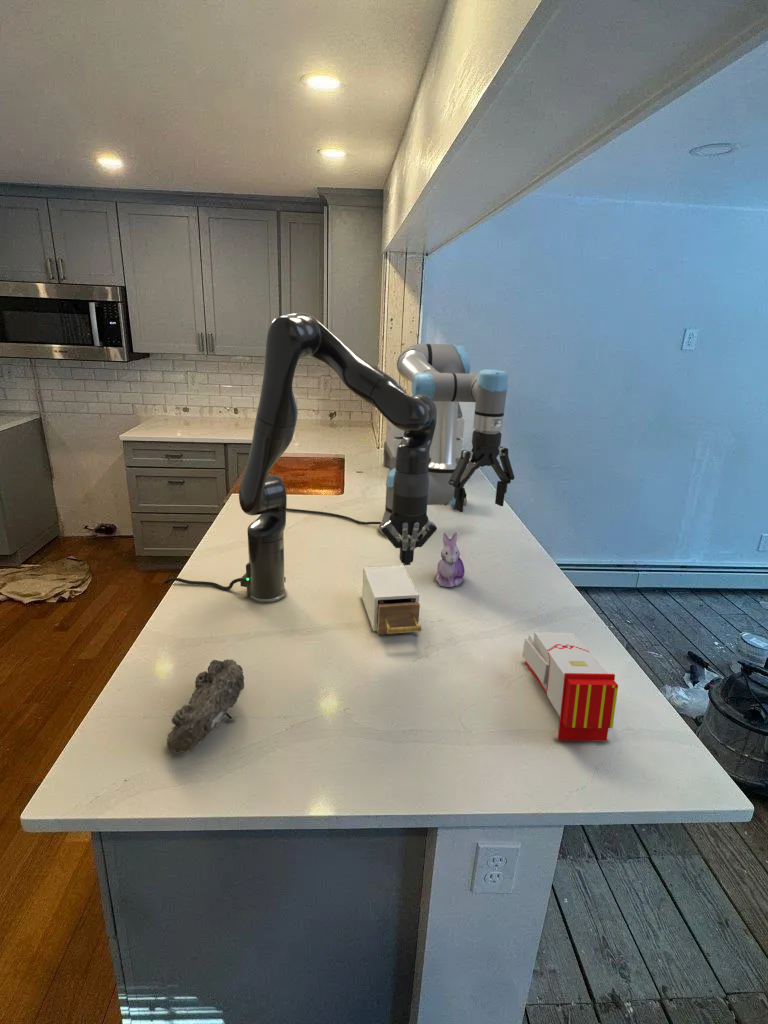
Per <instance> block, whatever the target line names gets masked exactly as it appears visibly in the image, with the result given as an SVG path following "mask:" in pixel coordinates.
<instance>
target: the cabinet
mask: <svg viewBox="0 0 768 1024" xmlns="http://www.w3.org/2000/svg"><path fill="white" fill-rule="evenodd" d="M361 587H362V589H361V591H362V592H361V599H362V603H363V605H364V608H365V611H366V614H367V617H368V619H369V623H370V625H371V628H372V631H373V632H377V628H378V623H377V611H378V600H391V599H408V598H413V599H414V602H419V603H420V594H419V592H418V590H417V588H416V587H415V584H414V583H413V581H412V579H411V577H410V575H409V573H408V571H407V570H406V568H405V565H403V564H402V565H401V564H400V565H399V564H398V565H382V566H381V565H379V566H363V567H362V585H361Z"/></svg>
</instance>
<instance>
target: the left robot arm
mask: <svg viewBox="0 0 768 1024" xmlns="http://www.w3.org/2000/svg"><path fill="white" fill-rule="evenodd" d="M305 357H312V358H314V359H316V360H318V361H321V362H322V363H324V364H325V365H327V366H328V367H330V368H331V369H332V370H333V371H334V372H335V374H337V376H338V378H339V379H340V380H341V382H342V383H343V385H345V387H346V388H347V389H348V390H349V391H351V392H352V393H353V394H354V395H356V396H357V397H358V398H360V399H361V400H363V401H364V402H366V403H367V404H369V405H370V406H371V407H374V408H376V410H378V412H379V413H380V414H381V416H383V417H384V418H385V420H386V419H387V420H388V421H389V422H390V423H391V424H393V425H394V426H395V427H397V428H398V429H400V430H402V431H404V436H403V439H402V441H401V442H400V444H399V445H398V447H397V452H396V470H395V476H394V484H393V505H392V514H391V516H390V520H389V521H388V522H387V523H385V524H381V525H380V524H379V526H380V528H381V530H382V532H383V533H384V534H385V536H386V537H385V538H387V540H388V541H389V542H390V543H391V545H392V546H393V547H394V548H395V549H399V561H400V563H401V564H402V565H403V566H411V565H412V564H411V563H414V555H415V549H417V548H422V547H423V546H424V545H425V544H426V543H427V541H428V540H429V539H430V538H431V537H432V536H433V535H434V533H435V532H436V531H437V530H438V527H437V525H436V524H435V522H433V521H430V519H429V516H428V514H427V513H428V505H427V502H428V489H429V458H430V447H431V443H432V440H433V436H434V431H435V427H436V420H437V410H436V406H435V403H434V402H433V400H432V399H431V398H430V397H428V396H426V395H415V396H412V397H411V395H408V393H407V394H405V393H404V392H403V391H402V390H400V389H399V388H398V385H399V383H398V382H397V381H396V380H395V379H394V378H393V377H391V375H389V374H387V373H386V372H384V371H383V370H381V369H379V368H378V367H377V366H375V365H373V364H372V363H370V362H369V361H367V360H366V359H364V358H363V357H361V356H360V355H358V354H357V353H356V352H354V351H353V350H352V349H351V348H350V347H349V346H347V345H346V344H345V343H344V342H342V340H340V339H339V338H338V337H337V336H336V335H335V334H333V333H332V332H331V330H329V329H328V328H327V327H326V326H325V325H324V324H322V322H321V321H319V320H318V319H317V318H316V317H315V316H313V315H312V314H310V313H307V312H292V313H287V314H282V315H279V316H277V317H276V318H274V319H273V320H272V322H271V323H270V325H269V327H268V331H267V334H266V343H265V357H264V369H263V371H264V372H263V377H262V385H261V389H260V395H259V401H258V406H257V410H256V416H255V421H254V427H253V434H252V440H251V444H250V449H249V454H248V457H247V462H246V465H245V468H244V471H243V473H242V474H243V475H242V478H241V482H240V483H239V488H238V489H239V490H238V501H239V506H240V508H241V510H242V512H243V513H244V514H245V515H248V516H258V517H257V518H256V519H255V520H254V521H252V522H251V523H250V524H249V525H248V527H247V532H246V533H247V550H248V562H247V564H246V565H245V573H244V574H243V576H241V577H239V578H235V579H233V580H232V581H230V583H229V585H228V586H223V585H221V584H219V583H216V582H213V581H202V580H201V581H200V580H188V579H184V578H181V577H168V578H167V579H165V580H164V581H163V584H168V583H170V582H179V583H184V584H187V585H197V586H198V585H201V586H211V587H215V588H217V589H220V590H223V591H229V590H231V589H232V588H233V586H234V584H237V583H240V587H242V588H243V587H244V588H246V597H247V598H249V599H251V600H252V601H255V602H258V603H274V602H277V601H279V600H281V599H283V598H284V597H285V595H286V587H285V583H286V582H287V581H286V576H285V543H284V541H285V539H284V537H285V536H284V531H285V529H286V526H287V525H286V524H287V511H286V508H287V498H288V496H287V489H286V486H285V484H284V481H283V480H282V478H281V477H280V476H278V475H276V474H270V472H271V470H272V468H273V467H274V465H275V464H276V463H277V462H278V460H279V459H280V458H281V457H282V456H283V454H284V453H285V452H286V450H287V449H288V447H289V446H290V444H291V443H292V441H293V438H294V434H295V430H296V426H297V421H298V416H299V415H298V412H299V411H298V406H297V402H296V401H297V400H296V399H295V395H294V391H293V383H294V377H295V373H296V369H297V366H298V362H299V360H300V359H302V358H305ZM392 525H393V526H394V528H395V529H396V531H397V532H398V533H399V537H400V540H397V539H396V538H395V537H394V536H393V534H392V533H391V532H392ZM421 530H422V532H421V534H420V535H419V536H418V537H417V535H418V533H419V532H420V531H421Z"/></svg>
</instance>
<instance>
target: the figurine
mask: <svg viewBox="0 0 768 1024" xmlns="http://www.w3.org/2000/svg"><path fill="white" fill-rule="evenodd" d="M458 536H459V535H458V532H457V531H455V532H454V533H453V534H452V535H451V537H449V536H448V534H447V533H446V532H443V533H442V544H443V545H442V548H441V550H440V557H441V559H440V560H439V561H438V563H437V568H436V569H437V573H436V577H435V580H436V582H438V585H439V586H441V587H445V588H452V587H454V586H457V587H458V586H459V585H460V584H461V583H463V580H464V577H465V566H464V565H465V564H464V562H463V560H462V559H461V557H460V556H461V553H460V549H459V547H458V546H457V545H458V544H457V542H458Z"/></svg>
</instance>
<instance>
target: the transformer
mask: <svg viewBox="0 0 768 1024" xmlns="http://www.w3.org/2000/svg"><path fill="white" fill-rule="evenodd" d="M398 388H399V389H400V390H402V391H403V392H404V393H405V394H407V395H408V393H407V390H406V389H404V388H403V387H402V385H399V384H398ZM410 396H411V395H410ZM411 397H412V396H411ZM385 423H386V428H385V438H384V442H383V466H384V467H388V468H389V471H391V470H392V469H394V468H396V452H397V447H398V445H399V444H400V442H401V441H402V439H403V436H404V431H402V430H400V429H398V428H397V427H395V426H394V425H393V424H391V423H390V422H389V421H388V420H387V419H386V418H385ZM464 429H465V419H464V418H463V411H462V408H461V405H460V402H458V416H457V438H456V460H455V462H456V464H458V462H459V460H460V457H461V452H462V450H463V442H464V441H463V440H462V439H463V438H464V431H465V430H464ZM430 461H431V447H430V458H429V463H430Z"/></svg>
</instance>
